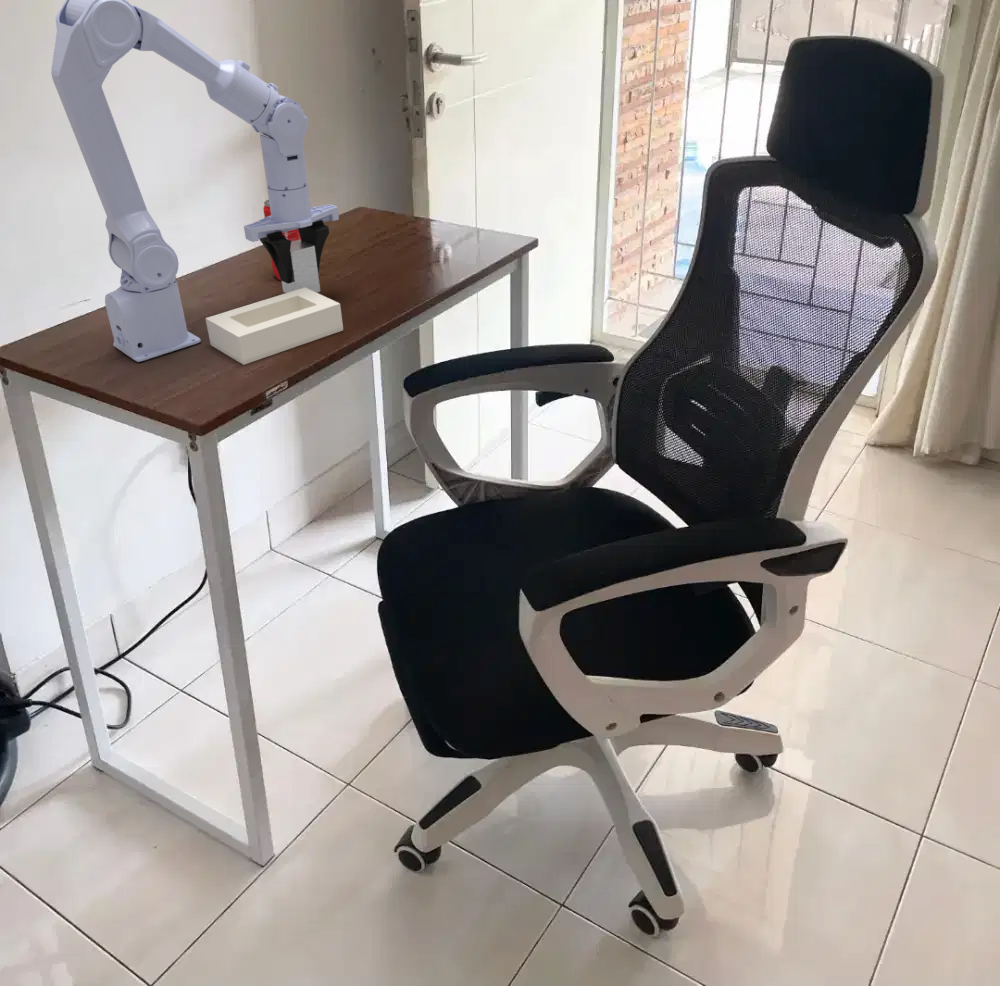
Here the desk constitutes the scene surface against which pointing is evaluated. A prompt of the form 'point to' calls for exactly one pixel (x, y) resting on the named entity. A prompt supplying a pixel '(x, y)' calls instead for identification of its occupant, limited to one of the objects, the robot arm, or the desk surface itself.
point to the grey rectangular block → (302, 267)
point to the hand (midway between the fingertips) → (299, 277)
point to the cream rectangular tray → (274, 325)
